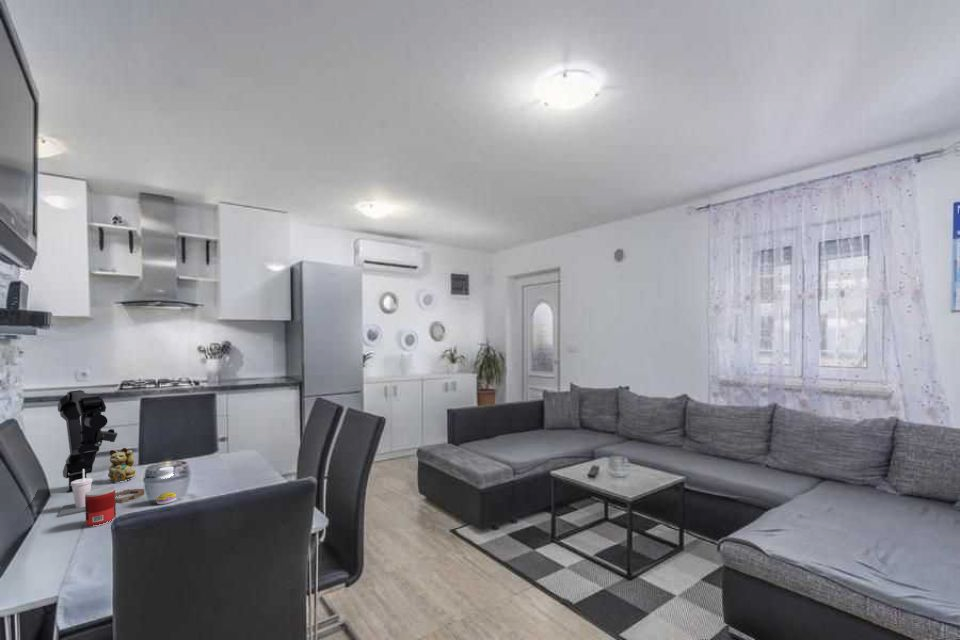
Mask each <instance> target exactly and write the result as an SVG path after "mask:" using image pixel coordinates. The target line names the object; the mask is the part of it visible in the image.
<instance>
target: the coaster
mask: <svg viewBox="0 0 960 640" xmlns="http://www.w3.org/2000/svg"><path fill="white" fill-rule="evenodd" d="M83 512H86V511H85V507H80V508H76V505H75V502H74V503H70V504H65V505H62V507H61V509H60V511H59V513H58V515H57V517H58V516H61V517H65V516H64V515H66V516H69V515H74V514H79V513H83Z"/></svg>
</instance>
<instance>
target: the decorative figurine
mask: <svg viewBox="0 0 960 640" xmlns="http://www.w3.org/2000/svg"><path fill="white" fill-rule="evenodd" d="M109 455H110V456H109V457H110V458H109V462H110V463H111V465H109V468H108V473H107V476H108V478H109V481H110V482H119V481H125V480H128V479H130V478H132V479H133V478H134V477H135V476H136V475H135V473H136V469H135V468H134V467H133V465H134V463H135V458H134V454H133V450H131V449H130V450H128V448H127V447H123V448H121V450H120V451H117V450H116V449H112V450H110V451H109ZM130 480H131V479H130ZM128 481H129V480H128Z"/></svg>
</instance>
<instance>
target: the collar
mask: <svg viewBox="0 0 960 640" xmlns="http://www.w3.org/2000/svg"><path fill="white" fill-rule="evenodd" d="M128 493H130V494H132V495H129V494H128ZM122 494H125V495H129V496H125V497H120V496H119V495H121V496H123V495H122ZM144 495H145V489H144V488H133V489H130V488H128V489H123V490H122V491H117V492H115V497H116V496H118V497H116V498H115V500H116V502H117V503H118V502H119V503H121V504H123V503H128V502H129V501H132V500H136V499H137V498H140V497H142V496H144ZM119 497H120V498H119Z"/></svg>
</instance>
